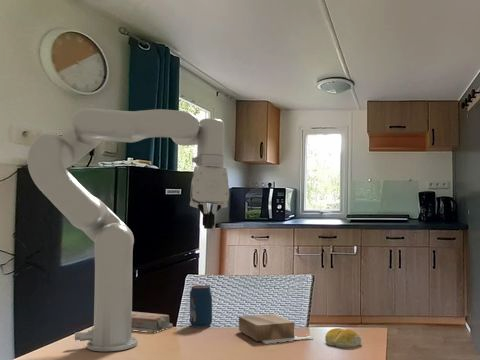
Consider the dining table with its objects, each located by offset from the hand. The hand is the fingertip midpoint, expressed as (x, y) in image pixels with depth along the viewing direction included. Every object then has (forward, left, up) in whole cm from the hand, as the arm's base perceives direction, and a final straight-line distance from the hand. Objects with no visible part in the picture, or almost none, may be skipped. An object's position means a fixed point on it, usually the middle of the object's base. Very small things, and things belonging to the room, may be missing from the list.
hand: (208, 228), depth 126 cm
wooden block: (+11, 0, -28) cm, 30 cm away
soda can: (+3, +20, -30) cm, 36 cm away
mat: (+20, 0, -30) cm, 36 cm away
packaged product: (-15, +24, -31) cm, 42 cm away
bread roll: (+31, -16, -31) cm, 47 cm away
